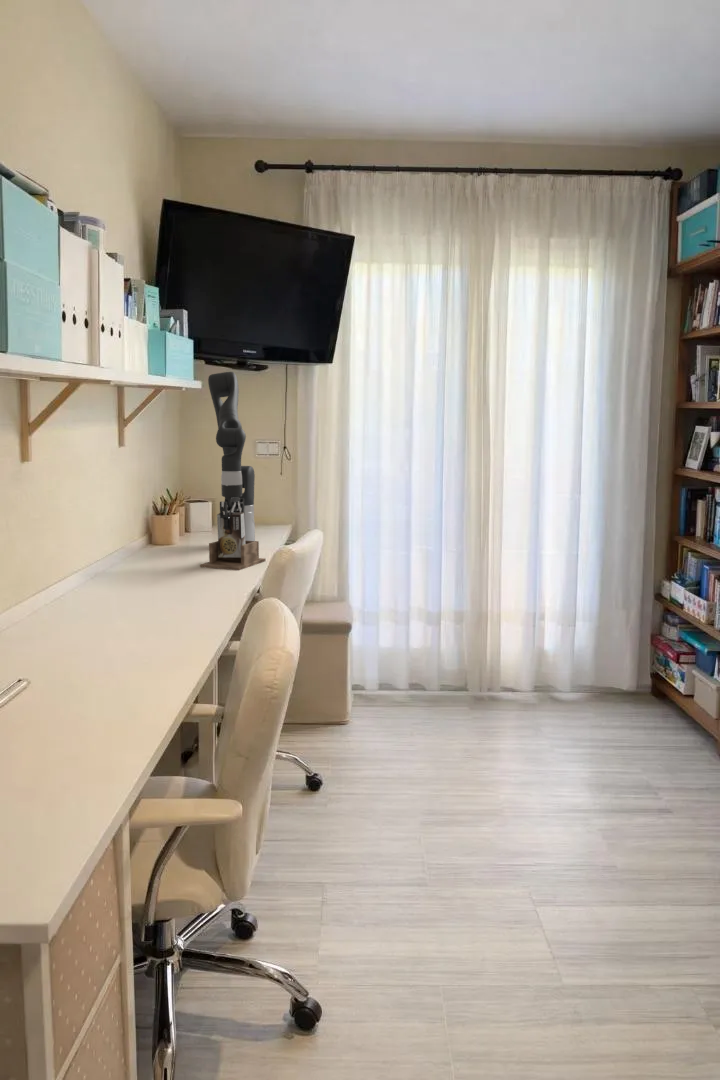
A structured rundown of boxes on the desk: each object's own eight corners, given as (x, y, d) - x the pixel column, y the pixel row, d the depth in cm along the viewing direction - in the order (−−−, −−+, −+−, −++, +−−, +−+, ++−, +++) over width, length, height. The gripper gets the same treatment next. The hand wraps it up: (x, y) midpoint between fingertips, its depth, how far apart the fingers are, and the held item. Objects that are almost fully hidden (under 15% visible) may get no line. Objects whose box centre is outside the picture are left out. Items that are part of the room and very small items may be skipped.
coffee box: (246, 555, 333) (245, 511, 330) (242, 558, 327) (241, 514, 324) (222, 554, 334) (221, 511, 332) (217, 557, 328) (216, 513, 325)
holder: (228, 558, 343) (227, 537, 341) (265, 561, 337) (265, 540, 336) (200, 567, 324) (199, 545, 323) (239, 570, 318) (238, 547, 317)
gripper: (232, 481, 334) (233, 525, 337) (212, 484, 321) (213, 530, 323) (250, 482, 331) (251, 526, 334) (230, 485, 318) (231, 531, 321)
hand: (232, 528), depth 329 cm, fingers closed on coffee box, 7 cm apart
